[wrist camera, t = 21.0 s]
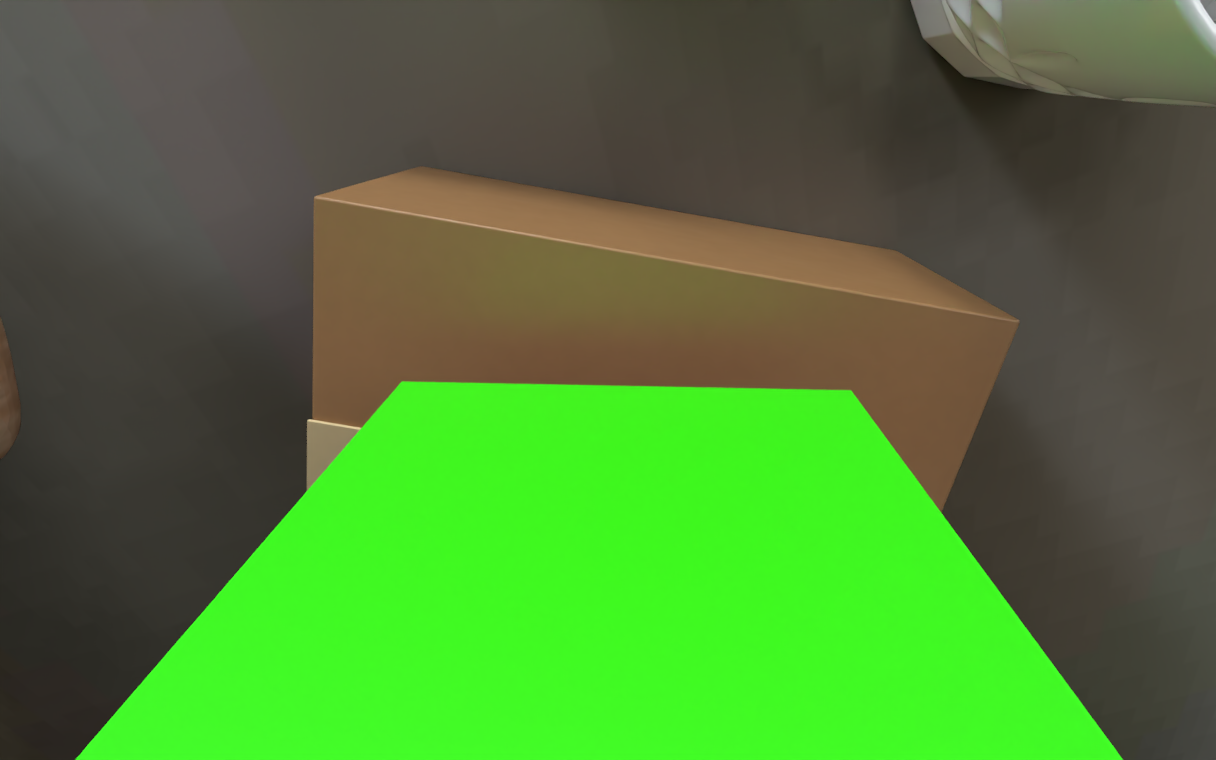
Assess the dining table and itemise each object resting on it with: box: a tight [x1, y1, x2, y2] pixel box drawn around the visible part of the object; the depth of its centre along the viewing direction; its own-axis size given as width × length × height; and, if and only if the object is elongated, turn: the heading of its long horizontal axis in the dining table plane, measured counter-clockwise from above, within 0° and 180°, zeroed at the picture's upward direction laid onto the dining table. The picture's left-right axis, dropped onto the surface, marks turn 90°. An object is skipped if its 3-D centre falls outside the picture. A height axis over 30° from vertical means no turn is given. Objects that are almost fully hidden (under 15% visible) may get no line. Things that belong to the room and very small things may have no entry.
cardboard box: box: [307, 166, 1019, 512], centre depth 19 cm, size 14×12×7 cm
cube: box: [75, 381, 1123, 760], centre depth 10 cm, size 8×8×8 cm
